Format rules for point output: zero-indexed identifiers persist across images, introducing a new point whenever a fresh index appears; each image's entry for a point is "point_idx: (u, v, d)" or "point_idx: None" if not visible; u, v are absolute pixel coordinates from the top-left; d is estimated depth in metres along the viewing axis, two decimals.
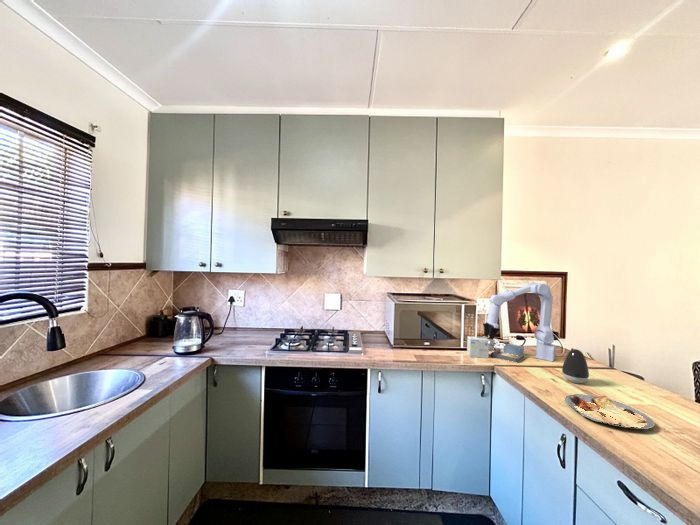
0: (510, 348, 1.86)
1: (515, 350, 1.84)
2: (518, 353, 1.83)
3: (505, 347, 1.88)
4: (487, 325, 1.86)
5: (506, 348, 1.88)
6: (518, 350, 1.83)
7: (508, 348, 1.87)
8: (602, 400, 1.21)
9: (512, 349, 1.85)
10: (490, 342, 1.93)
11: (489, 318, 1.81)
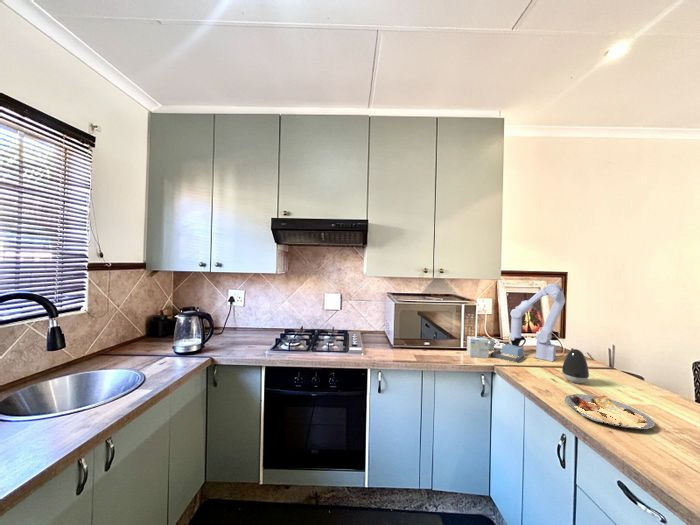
0: (508, 348, 1.85)
1: (513, 350, 1.83)
2: (516, 353, 1.81)
3: (503, 347, 1.87)
4: None
5: (504, 348, 1.86)
6: (516, 350, 1.81)
7: (506, 348, 1.86)
8: (602, 400, 1.21)
9: (510, 349, 1.84)
10: (490, 342, 1.93)
11: (511, 331, 1.92)
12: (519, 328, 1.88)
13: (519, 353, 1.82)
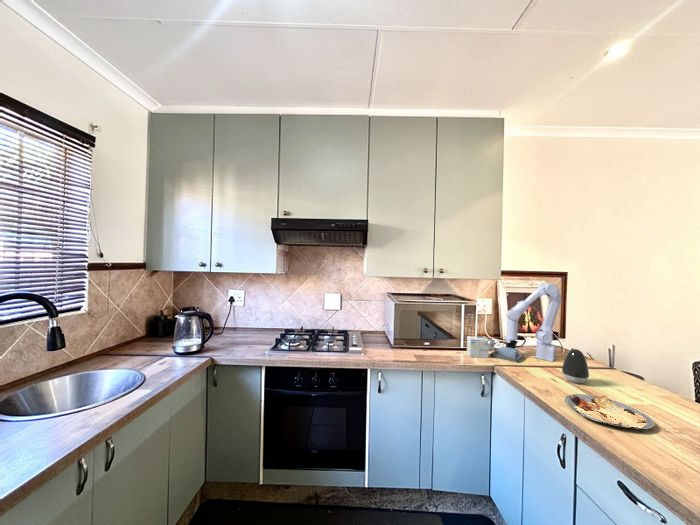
0: (505, 351, 1.79)
1: (510, 353, 1.77)
2: (513, 356, 1.76)
3: (500, 350, 1.80)
4: None
5: (501, 351, 1.80)
6: (513, 353, 1.76)
7: (503, 351, 1.79)
8: (602, 400, 1.21)
9: (507, 352, 1.78)
10: (490, 342, 1.93)
11: None
12: (517, 330, 1.83)
13: (516, 356, 1.77)
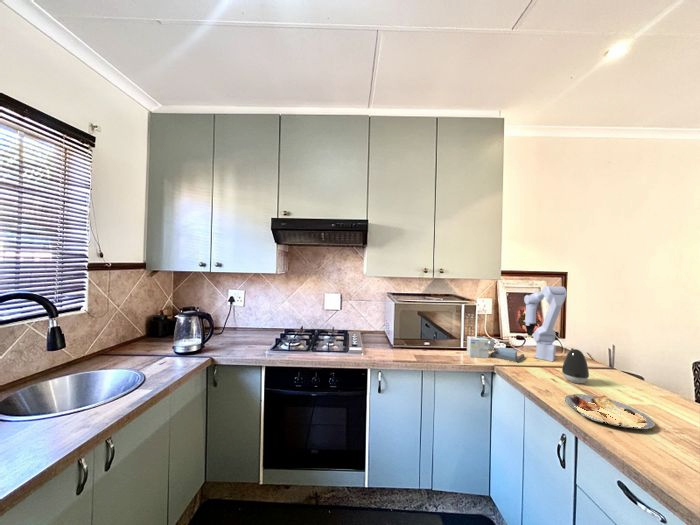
0: (505, 352, 1.77)
1: (510, 354, 1.75)
2: (513, 357, 1.74)
3: (499, 351, 1.78)
4: None
5: (500, 352, 1.78)
6: (513, 354, 1.74)
7: (502, 352, 1.77)
8: (602, 400, 1.21)
9: (507, 353, 1.76)
10: (490, 342, 1.93)
11: (525, 317, 1.97)
12: (530, 314, 1.94)
13: (515, 356, 1.76)
